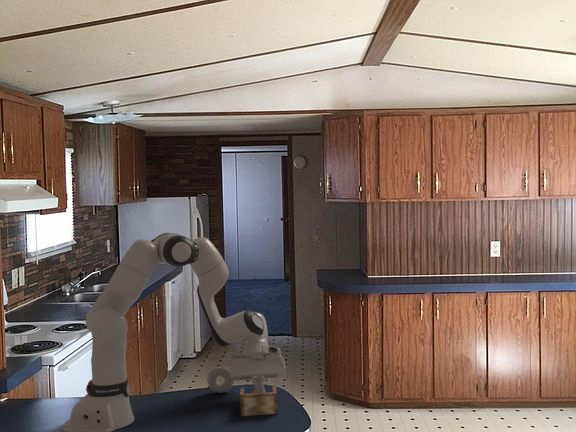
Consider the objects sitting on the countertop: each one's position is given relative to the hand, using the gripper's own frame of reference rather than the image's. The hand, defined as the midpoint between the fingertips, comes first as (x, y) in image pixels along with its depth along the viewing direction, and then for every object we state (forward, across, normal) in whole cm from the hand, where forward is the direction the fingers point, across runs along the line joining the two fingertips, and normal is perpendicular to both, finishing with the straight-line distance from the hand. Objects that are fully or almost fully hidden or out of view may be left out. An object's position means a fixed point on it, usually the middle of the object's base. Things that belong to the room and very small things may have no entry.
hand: (258, 389), depth 221 cm
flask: (+5, 0, +2) cm, 6 cm away
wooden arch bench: (+8, 0, -1) cm, 8 cm away
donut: (-6, -14, +12) cm, 20 cm away
